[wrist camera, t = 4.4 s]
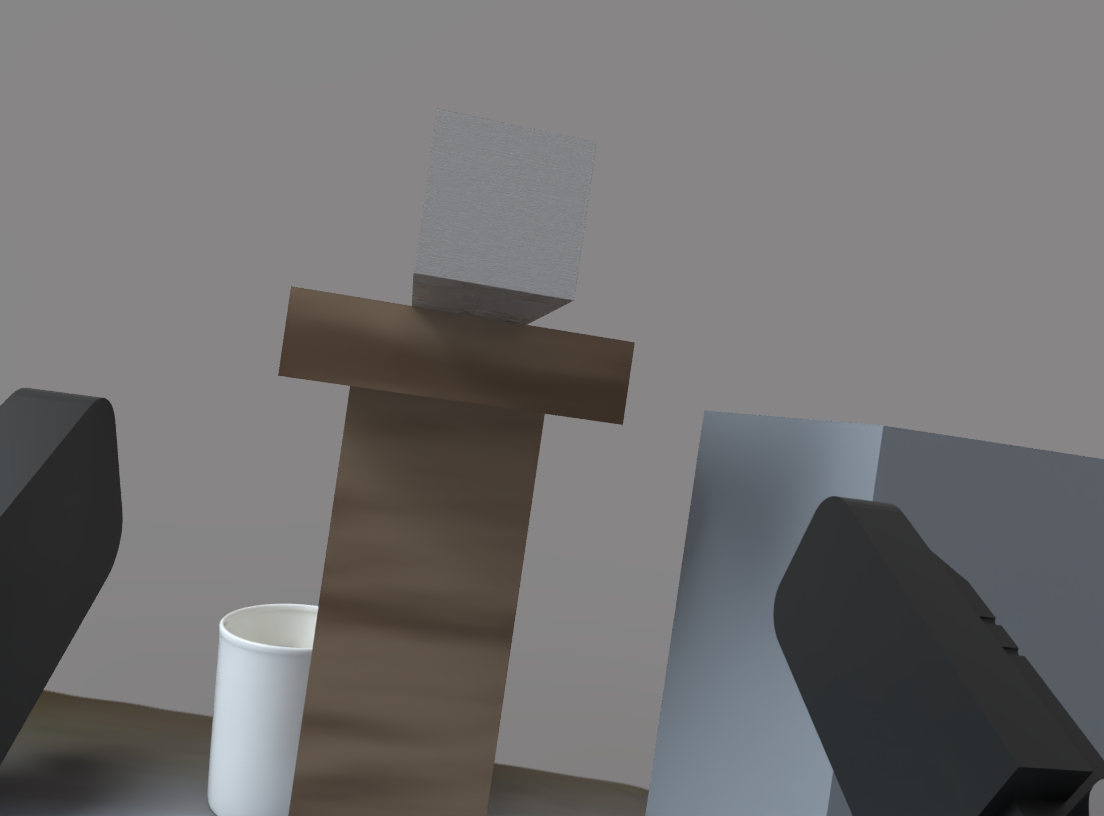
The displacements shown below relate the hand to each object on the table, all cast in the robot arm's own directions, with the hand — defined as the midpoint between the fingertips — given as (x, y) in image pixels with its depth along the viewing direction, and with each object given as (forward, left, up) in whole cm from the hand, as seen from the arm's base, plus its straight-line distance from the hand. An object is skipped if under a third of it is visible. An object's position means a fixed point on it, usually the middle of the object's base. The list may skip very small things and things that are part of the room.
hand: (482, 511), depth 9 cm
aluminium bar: (-11, +20, +4) cm, 24 cm away
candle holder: (-28, +37, -28) cm, 55 cm away
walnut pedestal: (-12, +23, -28) cm, 38 cm away
